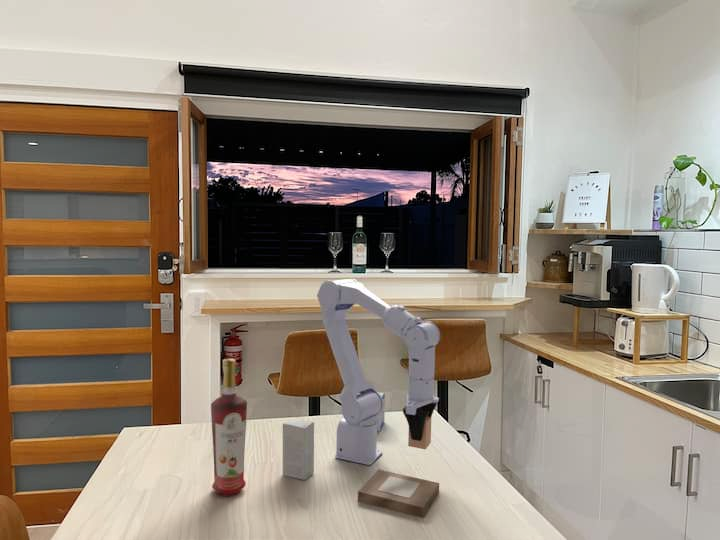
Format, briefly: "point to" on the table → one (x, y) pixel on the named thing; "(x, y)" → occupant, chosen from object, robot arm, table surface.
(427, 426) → the terracotta block
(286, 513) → the table surface
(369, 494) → the base board
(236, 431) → the liquor
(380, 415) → the medicine box
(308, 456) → the skincare box
